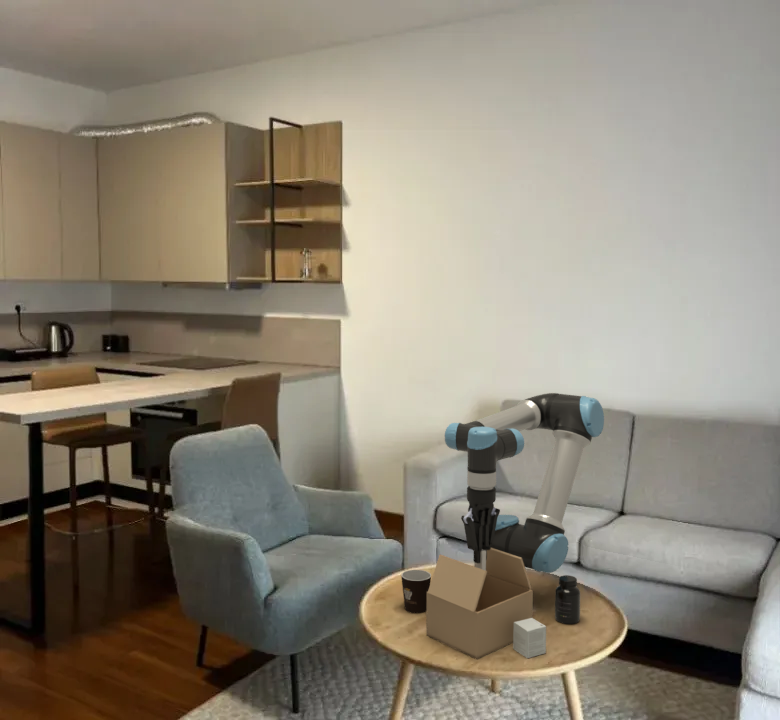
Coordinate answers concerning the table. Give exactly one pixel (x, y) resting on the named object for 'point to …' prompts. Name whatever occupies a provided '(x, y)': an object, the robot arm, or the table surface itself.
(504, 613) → the carton
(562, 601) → the supplement bottle
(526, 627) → the product box
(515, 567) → the flap
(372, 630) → the table surface
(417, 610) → the coffee mug
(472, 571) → the flap
